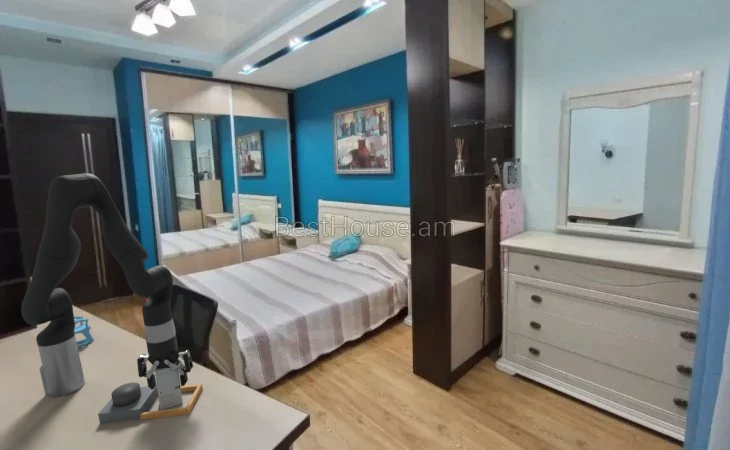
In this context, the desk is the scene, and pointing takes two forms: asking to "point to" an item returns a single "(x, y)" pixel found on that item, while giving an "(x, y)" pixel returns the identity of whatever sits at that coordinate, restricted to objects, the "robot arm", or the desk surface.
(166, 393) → the skincare box
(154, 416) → the dome slab with frame
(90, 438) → the desk surface
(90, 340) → the chair
